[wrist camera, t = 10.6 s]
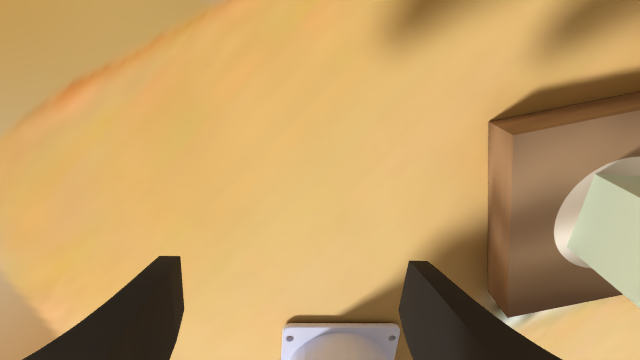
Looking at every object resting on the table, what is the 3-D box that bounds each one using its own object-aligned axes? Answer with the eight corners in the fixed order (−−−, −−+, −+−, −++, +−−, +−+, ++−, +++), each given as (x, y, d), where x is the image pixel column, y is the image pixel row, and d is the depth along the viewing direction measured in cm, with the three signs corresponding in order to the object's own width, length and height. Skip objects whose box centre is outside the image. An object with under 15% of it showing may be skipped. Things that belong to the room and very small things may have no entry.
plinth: (660, 256, 26) (697, 280, 24) (487, 290, 26) (507, 318, 24) (702, 79, 21) (753, 87, 19) (488, 121, 21) (513, 135, 19)
